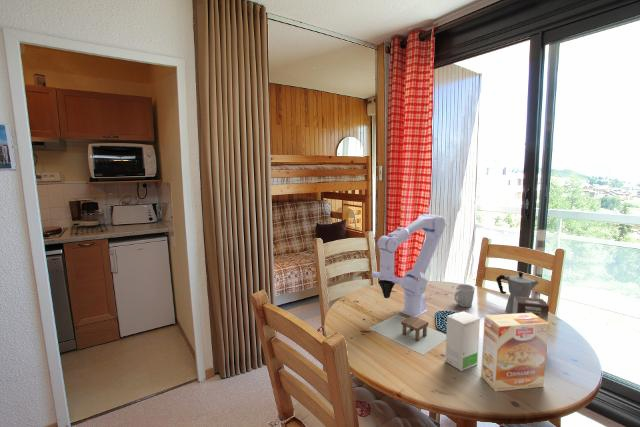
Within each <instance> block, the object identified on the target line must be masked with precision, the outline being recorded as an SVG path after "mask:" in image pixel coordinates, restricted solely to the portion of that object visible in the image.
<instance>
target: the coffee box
mask: <svg viewBox="0 0 640 427" xmlns="http://www.w3.org/2000/svg"><path fill="white" fill-rule="evenodd" d="M549 308H550V305H549V304H548V303H547V302H546V301H545V300H544V299H542V298H534V297H529V298H528V297H520V296H514V303H513V314H517V313H530V312H531V313H533V314H535V315H536V316H538V317H540V318H541V319H543V320H545V321H547V322H548V320H549V319H548V318H549Z"/></svg>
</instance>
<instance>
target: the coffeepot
mask: <svg viewBox="0 0 640 427" xmlns="http://www.w3.org/2000/svg"><path fill="white" fill-rule="evenodd" d="M517 274H518V275H505V274H504V275H503V274H500V275H498V276H497V277H496V283H497V286H498V288H499V289H498V290H499V292H500V294H503V295H505V294H507V291H504V286H503V284H502V281H501V280H505V281H507V283H508V284H507V285H508V292H509V293H510V294H509V297H508V299H507V303H506V307H505V311H506V312H507V314H513V303H514V296H520V297H528V298H530V297H529V296H531V294H532V290H533V289H534V288H535V287H536V286H537V285H538V284H540V282H539V280H538V281H537V280H535V279H532V278H530V277H527V276H523V274H524V272H523V271H519V272H518V273H517Z"/></svg>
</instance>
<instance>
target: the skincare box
mask: <svg viewBox="0 0 640 427" xmlns="http://www.w3.org/2000/svg"><path fill="white" fill-rule="evenodd" d="M480 320H481V317H478V316H475V315H473V314H470V313H469V312H466V311H464V310H463V311H460V312H454V313H453V314H449V315H447V316H446V333H445V334H446V340H445V360H444V361H445V362H446V363H447V364H449V365H451V367H454V368H456V369H457V370H459V371H460V372H463V371H465V370H467V369H470V368H472V367H474V366H477V365H478V364H479V344H480V340H479V339H480V322H481V321H480Z"/></svg>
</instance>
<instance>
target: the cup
mask: <svg viewBox="0 0 640 427" xmlns="http://www.w3.org/2000/svg"><path fill="white" fill-rule="evenodd" d="M455 289H456V290H455V292H454V296H453V297H454V301H455V302H456V303H457V304H458V306H460V307H462V308H470V307H472V306H473V300H474V297H475V296H474V294H475V289H476V288H475V286H473V285H470V284H465V283H464V284H463V283H459V284H457V285H456V286H455Z"/></svg>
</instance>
